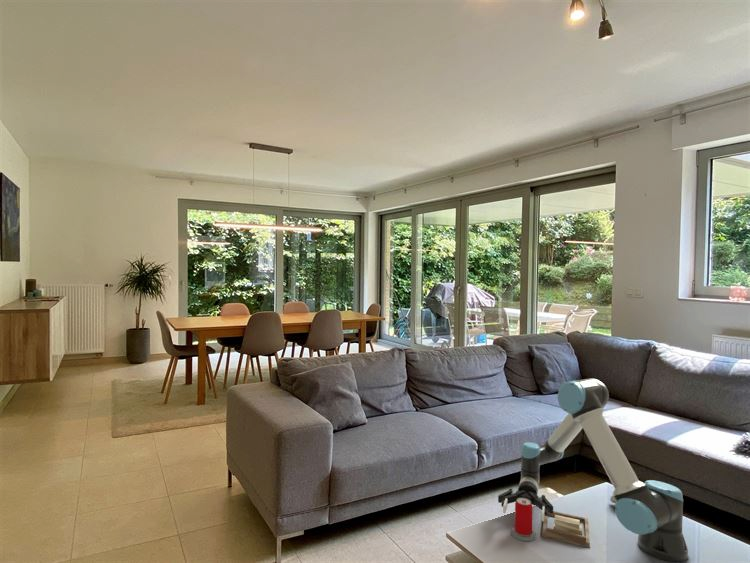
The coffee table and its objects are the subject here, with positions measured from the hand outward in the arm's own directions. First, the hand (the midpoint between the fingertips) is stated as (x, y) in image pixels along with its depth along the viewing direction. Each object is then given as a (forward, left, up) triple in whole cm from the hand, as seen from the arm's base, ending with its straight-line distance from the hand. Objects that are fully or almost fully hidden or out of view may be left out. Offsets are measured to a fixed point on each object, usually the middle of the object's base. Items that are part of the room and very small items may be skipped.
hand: (523, 513), depth 167 cm
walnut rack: (+5, -20, -9) cm, 22 cm away
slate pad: (+2, -1, -9) cm, 9 cm away
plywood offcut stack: (0, -18, -9) cm, 20 cm away
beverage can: (+2, -1, -9) cm, 9 cm away
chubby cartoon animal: (+17, -52, -9) cm, 56 cm away
